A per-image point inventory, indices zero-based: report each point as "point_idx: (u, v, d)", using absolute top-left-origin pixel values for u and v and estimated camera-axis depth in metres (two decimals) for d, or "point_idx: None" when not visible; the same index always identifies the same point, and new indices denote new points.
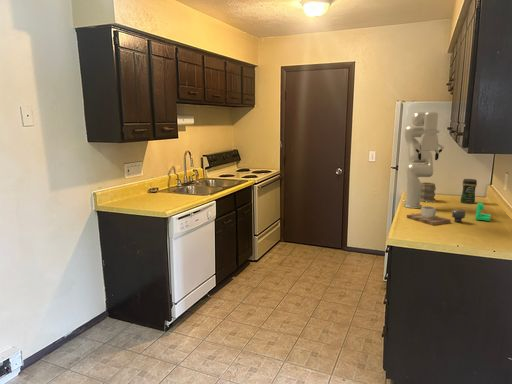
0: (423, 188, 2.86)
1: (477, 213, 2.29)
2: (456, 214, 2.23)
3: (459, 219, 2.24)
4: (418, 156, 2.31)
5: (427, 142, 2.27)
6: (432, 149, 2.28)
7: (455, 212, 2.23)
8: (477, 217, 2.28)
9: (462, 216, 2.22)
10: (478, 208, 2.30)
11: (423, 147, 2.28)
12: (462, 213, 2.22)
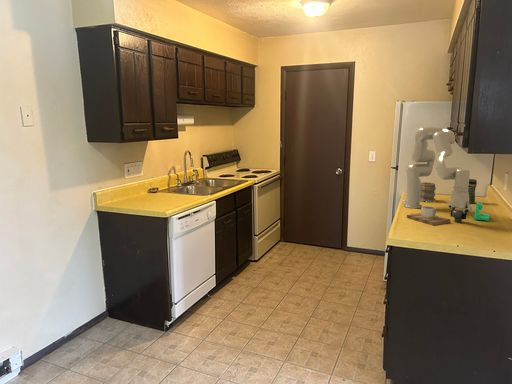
0: (423, 188, 2.86)
1: (476, 213, 2.29)
2: (456, 214, 2.23)
3: (459, 219, 2.24)
4: (466, 216, 2.21)
5: None
6: None
7: (455, 212, 2.23)
8: (476, 217, 2.29)
9: None
10: (477, 208, 2.30)
11: None
12: None
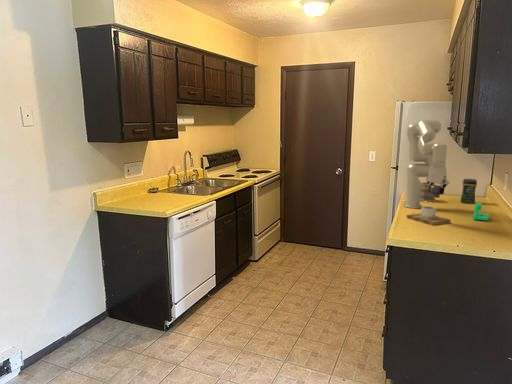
0: (423, 188, 2.86)
1: (475, 213, 2.30)
2: (434, 189, 2.23)
3: (437, 194, 2.24)
4: None
5: None
6: None
7: (433, 187, 2.24)
8: (475, 217, 2.29)
9: None
10: (476, 208, 2.31)
11: None
12: (439, 188, 2.22)
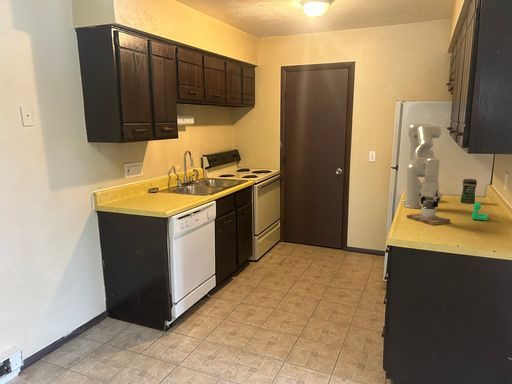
0: None
1: (474, 213, 2.30)
2: (426, 205, 2.26)
3: None
4: (437, 204, 2.23)
5: None
6: None
7: (425, 203, 2.26)
8: (473, 217, 2.30)
9: (432, 207, 2.25)
10: (475, 208, 2.31)
11: None
12: (431, 203, 2.25)
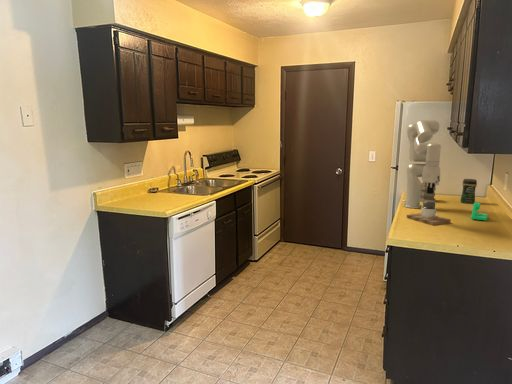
0: (423, 188, 2.86)
1: (473, 212, 2.30)
2: (426, 205, 2.26)
3: None
4: None
5: None
6: None
7: (425, 203, 2.26)
8: (473, 216, 2.30)
9: (432, 207, 2.25)
10: (474, 208, 2.31)
11: None
12: (431, 203, 2.25)
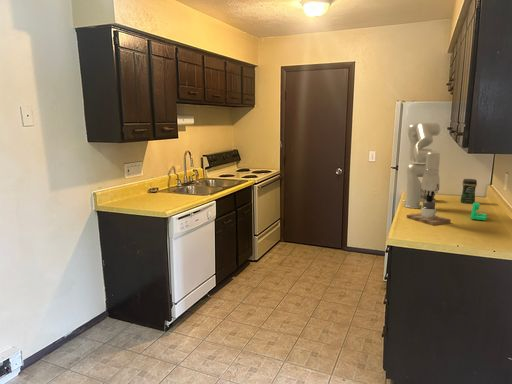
0: None
1: (472, 212, 2.31)
2: (426, 205, 2.26)
3: None
4: (432, 198, 2.26)
5: None
6: None
7: (425, 203, 2.26)
8: (472, 216, 2.30)
9: (432, 207, 2.25)
10: (473, 207, 2.31)
11: None
12: (431, 203, 2.25)
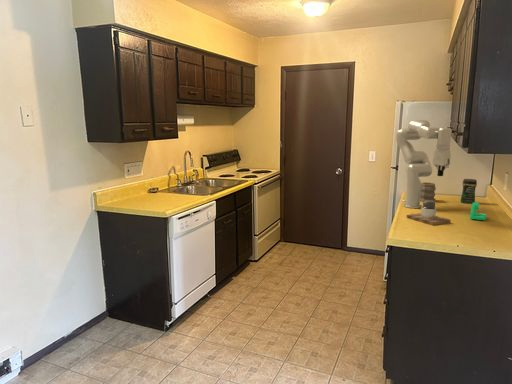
0: (423, 188, 2.86)
1: (472, 212, 2.31)
2: (426, 205, 2.26)
3: None
4: None
5: None
6: None
7: (425, 203, 2.26)
8: (471, 216, 2.30)
9: (432, 207, 2.25)
10: (473, 207, 2.32)
11: None
12: (431, 203, 2.25)
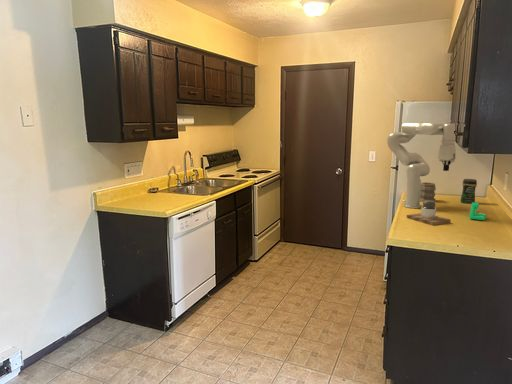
0: (423, 188, 2.86)
1: (471, 212, 2.31)
2: (426, 205, 2.26)
3: None
4: (448, 167, 2.42)
5: None
6: None
7: (425, 203, 2.26)
8: (471, 216, 2.31)
9: (432, 207, 2.25)
10: (472, 207, 2.32)
11: None
12: (431, 203, 2.25)
